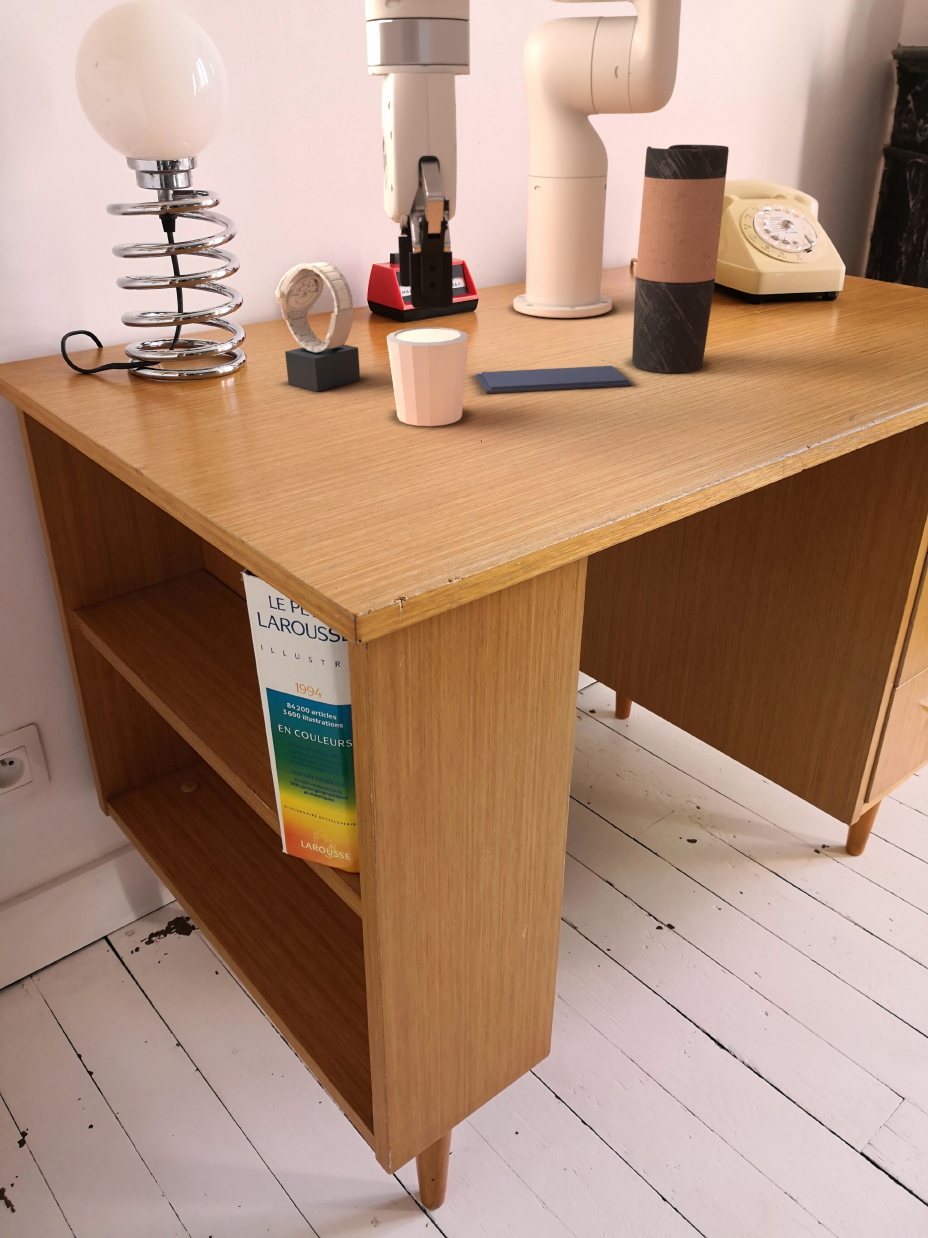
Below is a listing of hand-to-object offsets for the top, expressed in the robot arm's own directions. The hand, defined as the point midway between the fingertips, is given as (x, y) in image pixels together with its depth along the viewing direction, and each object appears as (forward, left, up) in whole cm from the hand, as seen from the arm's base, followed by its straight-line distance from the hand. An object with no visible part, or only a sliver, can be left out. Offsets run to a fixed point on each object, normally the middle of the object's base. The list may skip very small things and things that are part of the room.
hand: (425, 295), depth 77 cm
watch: (-13, -9, -10) cm, 19 cm away
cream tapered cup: (0, 0, -10) cm, 10 cm away
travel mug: (-13, +26, -10) cm, 31 cm away
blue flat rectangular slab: (-9, +13, -10) cm, 19 cm away
